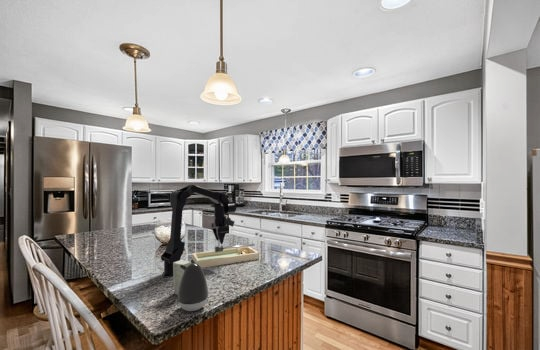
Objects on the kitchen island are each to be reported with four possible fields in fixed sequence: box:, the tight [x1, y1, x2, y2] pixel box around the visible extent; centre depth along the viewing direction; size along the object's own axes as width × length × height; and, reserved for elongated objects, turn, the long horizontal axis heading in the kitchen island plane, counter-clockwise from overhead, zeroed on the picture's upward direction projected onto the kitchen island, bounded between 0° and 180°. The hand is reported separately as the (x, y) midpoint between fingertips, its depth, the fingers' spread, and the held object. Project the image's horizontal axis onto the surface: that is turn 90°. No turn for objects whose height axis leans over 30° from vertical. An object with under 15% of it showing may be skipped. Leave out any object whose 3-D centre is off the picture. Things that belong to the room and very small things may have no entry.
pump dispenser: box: [177, 262, 209, 312], centre depth 87 cm, size 10×10×15 cm
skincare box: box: [172, 259, 192, 295], centre depth 99 cm, size 6×4×12 cm
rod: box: [214, 243, 256, 255], centre depth 146 cm, size 3×24×6 cm, turn 115°
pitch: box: [192, 246, 260, 269], centre depth 142 cm, size 16×34×4 cm, turn 115°
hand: (219, 242), depth 142 cm, fingers open, 9 cm apart
